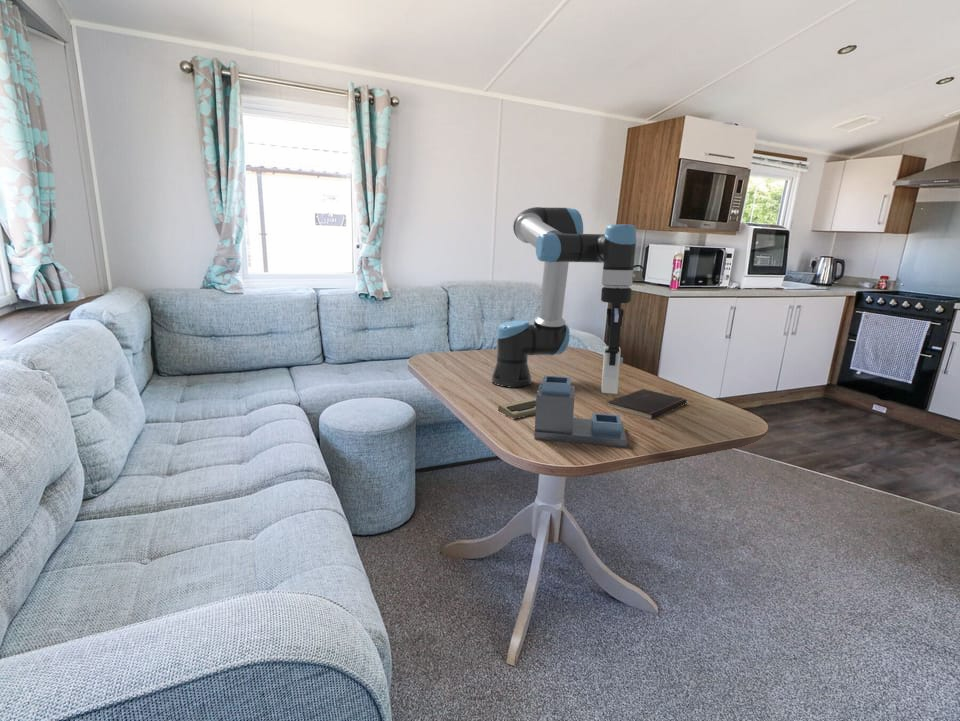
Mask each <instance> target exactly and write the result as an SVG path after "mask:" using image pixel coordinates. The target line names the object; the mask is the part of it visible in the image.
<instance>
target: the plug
mask: <svg viewBox="0 0 960 721" xmlns="http://www.w3.org/2000/svg"><path fill="white" fill-rule="evenodd" d="M605 350H606V351H608V346H607V345H604V346H603V358H602V359H603V361H602V373H601V393H602V394H616V395H617V394H618V390H619V380H620V378H619V377H620V365H621V366H622V365H624V364H623V361H624V358H623V356H622V357H621V353H622V352H621V351H622V349H621V347H620V346H619V352H618V362H617V375H616V378H615V377H606V364H607V353H605Z"/></svg>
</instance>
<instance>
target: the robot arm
mask: <svg viewBox="0 0 960 721" xmlns="http://www.w3.org/2000/svg"><path fill="white" fill-rule="evenodd" d="M583 221H584V220H583V217H582V214H581V213H580V211H579V210H577V209H576V208H571V207H543V206H542V207H539V206H537V207H536V206H535V207H531V208H527V209H524V210H523V211H521V212H520V213H518V214H517V216H516V217H515V218H514V221H513V225H512V227H513V234H514V235H515V236H516V238H517V239H518V240H520V241H521V242H523V243H524V244H530V245H531V246H533V247H534V248H535V254H536V258H537V260H538V261H539V262H544V264H543V274H542V282H541V284H542V285H541V293H540V294H541V295H540V302H539V312H538V315H537V316H536V317H535V318H534V321H533V322H534V324H530V323H529V321H528V320H512V321H506V322H503V323H501V324H500V325H499V326H498V328H497V332H496V334H497V335H496V338H497V340H496V363H495V366H494V370H493V371H492V374H491V382H492V381H493V382H494V383H496V384H499V385H503V386H510V387H509V388H522V387H521V386H524V387H527V386H526V385H528V386H530V385H531V384H532V375H531V372H530V367H529V365H528V356H554V355H562V354H563V353H565V351H566V350H567V348H568V346H569V343H570V328H569V326H568V324H566V320H565V319H564V318H563V313H564V312H563V311H564V303H565V297H566V296H565V295H566V288H567V287H566V286H567V281H568V280H567V278H568V272H569V264H570V263H600V264H602V263H603V265H602V266H603V267H602V277H601V284H602V286H603V287H602V288H601V295H600V300H601V302H603V303H607V304H608V303H609V304H610V305H609V308H606V315H607V317H606V318H607V319H606V324H607V335H606V343H605V344H606V346H608V351H606V350H605V353H607V364H606V377H615V378H616V375H617V362H618V352H619V347H620V342H621V341H620V340H621V327H622V326H623V317H624V309H623V308H622V304H628V303H631V302H632V294H633V293H632V292H633V290H632V288H631V286H632V285H633V278H636V274H635V273H634V266H635V257H636V256H635V255H636V246H637V227H636V226H635V225H633V224H619V223H618V224H609V225H607V226H606V228H605V233H604V234H603V233H602V234H601V233H600V234H599V233H598V234H597V233H584V223H583ZM529 384H530V385H529ZM503 386H502V387H503Z"/></svg>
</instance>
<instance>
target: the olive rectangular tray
mask: <svg viewBox="0 0 960 721" xmlns="http://www.w3.org/2000/svg"><path fill="white" fill-rule="evenodd" d="M498 411H499V412H501V413H503V414H505V415H507V416H509V417H512V418H514V419H513V420H516V419H515V418H518V419H520V418H519V417H522V418H524V417H523V416H526V417H529V416H528V415H530V416H533V415H532V414H534V415H535V413H536V396H535V397H531V398H526V399H522V400H521V399H520V400H517V401H512V402H509V403H505V404H500V405H498V409H497V412H498ZM507 416H506V417H507ZM509 417H508V418H509Z"/></svg>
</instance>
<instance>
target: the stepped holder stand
mask: <svg viewBox="0 0 960 721" xmlns="http://www.w3.org/2000/svg"><path fill="white" fill-rule="evenodd" d="M571 384H572V377H570V376H555V375H554V376H553V375H544V376H543V378H542V382H541V383H539V386H538V387H537V388H538V389H537V391H536V392H537V393H536V396H535V397H536V413H535V414H534V415H535V417H534V436H533V439H534V438H537V439H536V440H542V439H545V440H544V441H553V440H556V441H555V442H564V441H567V443H575V442H577V443H576V444H586V443H587V444H588V445H600V446H609V447H619V448H626V447H627V444H628V442H627V441H628V438H627V435H626V431H625V426H624V423H623V422H624V421H622V419H621V416H620V414H610V413H608V414H606V413H597V412H592V414H591V418H580V417H574V411H575V410H574V409H575V408H574V407H575V392H576V385H571Z"/></svg>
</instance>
